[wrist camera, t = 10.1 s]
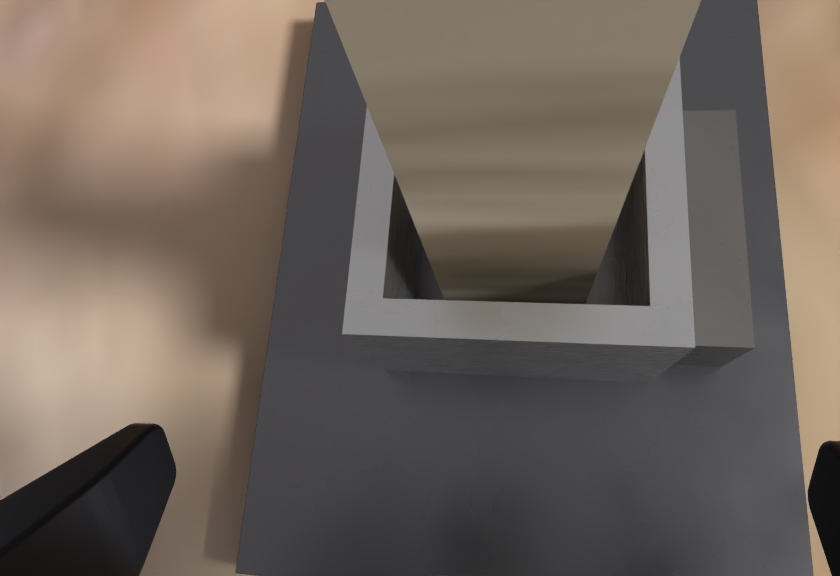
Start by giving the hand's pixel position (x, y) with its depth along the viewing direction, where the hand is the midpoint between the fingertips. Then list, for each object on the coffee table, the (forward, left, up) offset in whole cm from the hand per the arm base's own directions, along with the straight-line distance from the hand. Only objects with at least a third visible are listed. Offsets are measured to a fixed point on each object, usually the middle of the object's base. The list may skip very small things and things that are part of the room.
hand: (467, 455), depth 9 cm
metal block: (+6, +2, -8) cm, 10 cm away
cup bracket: (+6, +2, -9) cm, 11 cm away
